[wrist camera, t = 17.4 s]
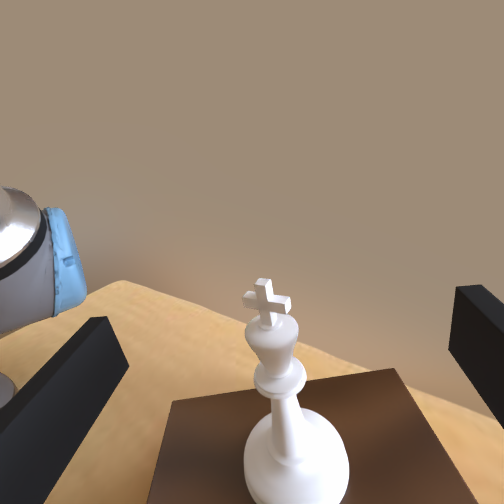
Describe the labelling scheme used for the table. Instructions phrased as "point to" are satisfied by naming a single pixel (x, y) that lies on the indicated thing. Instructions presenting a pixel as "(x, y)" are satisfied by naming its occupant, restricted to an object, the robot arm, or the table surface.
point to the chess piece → (287, 417)
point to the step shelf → (343, 420)
